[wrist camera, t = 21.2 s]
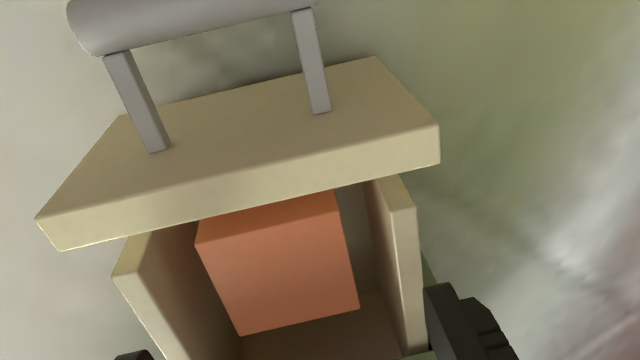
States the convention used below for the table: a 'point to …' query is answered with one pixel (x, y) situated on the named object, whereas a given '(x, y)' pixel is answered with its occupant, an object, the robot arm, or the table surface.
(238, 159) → the drawer
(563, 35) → the table surface
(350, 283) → the block
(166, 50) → the table surface
